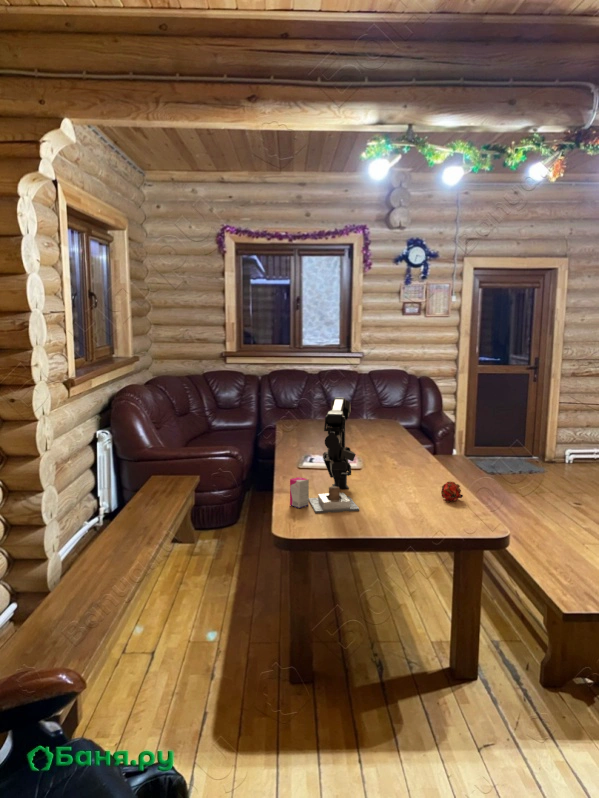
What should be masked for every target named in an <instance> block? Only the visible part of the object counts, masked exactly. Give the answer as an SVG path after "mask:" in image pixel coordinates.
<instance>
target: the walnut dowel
mask: <svg viewBox="0 0 599 798" xmlns="http://www.w3.org/2000/svg"><path fill="white" fill-rule="evenodd" d="M340 490H341V489H340V488H339V487H336V486H332V485H331V486H329V487H328V493H329V500H339V494H340V493H341V492H340Z"/></svg>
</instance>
